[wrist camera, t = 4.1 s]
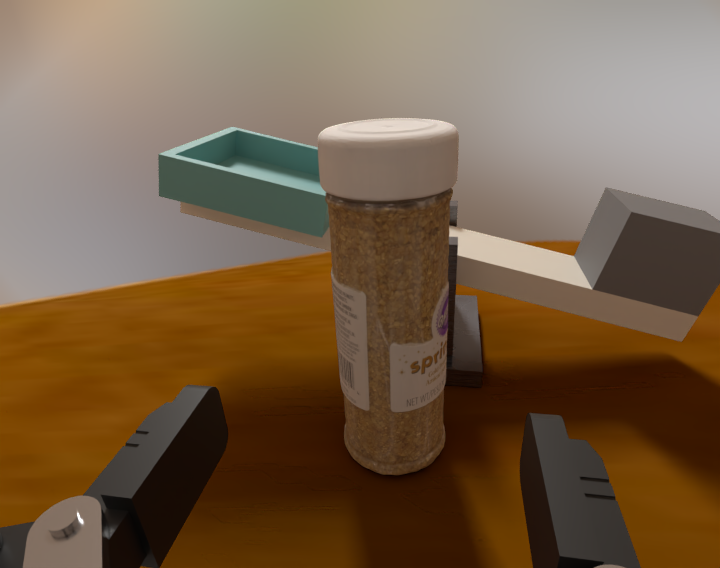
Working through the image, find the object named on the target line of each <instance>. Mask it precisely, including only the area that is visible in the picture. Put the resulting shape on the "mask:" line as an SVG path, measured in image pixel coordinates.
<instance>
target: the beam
mask: <svg viewBox="0 0 720 568" xmlns="http://www.w3.org/2000/svg"><path fill="white" fill-rule="evenodd" d="M325 193H326V192H325V191H324V190H323V189H322V187H321V185H320V176H319V162H318V147H314V146H309V145H305V144H301V143H297V142H293V141H289V140H285V139H281V138H277V137H272V136H268V135H264V134H260V133H256V132H252V131H248V130H243V129H239V128H236V127H230V128H228V129H225V130H222V131H219V132H217V133H214V134H211V135H209V136H206V137H203V138H201V139H198V140H195V141H193V142H190V143H187V144H184V145H182V146H179V147H176V148H173V149H171V150H168V151H165V152H163V153H160V154H159V196H161V197H165V198H169V199H173V200H177V201H181V212H182V213H185V214H189V215H193V216H197V217H201V218H205V219H209V220H213V221H216V222H221V223H224V224H228V225H232V226H236V227H240V228H244V229H247V230H251V231H255V232H259V233H263V234H267V235H271V236H274V237H278V238H282V239H286V240H290V241H294V242H298V243H302V244H306V245H309V246H313V247H317V248H321V249H325V250H329V251H331V240H330V227H329V214H328V204H327V203H326V201H325V197H326V194H325ZM449 231H450V233H449V237H458V253H457V274H456V284H460V285H464V286H468V287H472V288H476V289H480V290H483V291H487V292H491V293H495V294H499V295H503V296H507V297H510V298H514V299H518V300H522V301H526V302H530V303H534V304H538V305H541V306H545V307H549V308H553V309H557V310H561V311H565V312H568V313H572V314H576V315H580V316H584V317H588V318H592V319H596V320H599V321H603V322H607V323H611V324H615V325H619V326H623V327H627V328H630V329H634V330H638V331H642V332H646V333H650V334H654V335H657V336H661V337H665V338H669V339H673V340H677V341H681V342H682V340H683V339H684V337H685V336H686V334H687V333H688V331H689V330H690V328H691V327H692V325H693V324H694V322H695V320H696V319H697V317H698V316H699V314H700V313H701V311H702V310H703V308H704V307H705V305H706V304H707V302H708V300H709V299H710V297H711V296H712V294H713V293H714V291H715V290H716V288H717V287H718V285H719V284H720V221H719V220H717V219H716V218H714V217H713V216H711V215H710V214H708V213H707V212H705V211H702V210H698V209H694V208H689V207H685V206H682V205H677V204H673V203H669V202H665V201H660V200H656V199H652V198H648V197H643V196H640V195H636V194H631V193H627V192H623V191H619V190H615V189H610V188H605V190H604V193H603V195H602V197H601V199H600V201H599V203H598V206H597V208H596V210H595V212H594V214H593V216H592V219H591V221H590V223H589V225H588V227H587V229H586V232H585V234H584V236H583V238H582V240H581V242H580V244H579V247H578V249H577V251H576V253H575V255H574V256H570V255H566V254H562V253H558V252H554V251H550V250H546V249H542V248H538V247H534V246H530V245H526V244H522V243H518V242H514V241H510V240H506V239H502V238H498V237H494V236H490V235H486V234H482V233H478V232H474V231H470V230H466V229H462V228H458V227H454V226H450V225H449Z"/></svg>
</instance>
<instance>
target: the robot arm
mask: <svg viewBox="0 0 720 568" xmlns="http://www.w3.org/2000/svg"><path fill="white" fill-rule="evenodd" d="M227 440H228V429H227V424H226V420H225V416H224V412H223V407H222V403H221V399H220V394H219V391H218V389H217V388H216V387H210V386H197V385H187V386H185V387H184V388H183V389H182V391H181V392H180V393H179V394H178V396H177V397H176V398H175V400H174V401H173V402H172V403H167V402H166V403H165V404H164V405H162V406H161V407H159V408H158V409H157V410H155V411H154V412H152V413H151V414H150V415H148V416H147V418H146V419H145V420H144V421H143V423H142V424H141V425H140V426H139V427H138V429H137V430H136V433H135V434H133V435H132V436H131V437H130V438H129V440H128V441H127V442H126V446H123V447H122V448H121V449H120V451H119V452H118V453H117V454H116V456H115V457H114V458H113V459H112V460H111V462H110V463H109V464H108V465H107V467H106V468H105V469H104V470H103V471H102V473H101V474H100V475H99V476H98V478H97V479H96V480H95V481H94V482H93V484H92V485H91V486H90V487H89V489H88V490H87V491H86V492H85V493H84V494H83V496H76V497H72V498H69V499H66V500H63V501H61V502H59V503H57V504H55V505H54V506H52V507H51V508H49V509H48V510H47V511H45V512H44V513H43V514H42V515H41V516H40V517H39V518H38V519H37V520H36V521H35V522H30V523H25V524H19V525H13V526H7V527H2V528H0V568H140V566H145V567H152V568H159V567H160V566H161V564H162V562H163V560H164V559H165V557H166V555H167V553H168V551H169V550H170V548H171V546H172V544H173V542H174V541H175V539H176V537H177V535H178V534H179V532H180V530H181V528H182V526H183V525H184V523H185V521H186V519H187V517H188V516H189V514H190V512H191V510H192V509H193V507H194V505H195V503H196V501H197V500H198V498H199V496H200V494H201V492H202V491H203V489H204V487H205V485H206V484H207V482H208V480H209V478H210V476H211V475H212V473H213V471H214V469H215V467H216V466H217V464H218V462H219V460H220V459H221V457H222V455H223V453H224V451H225V448H226V445H227ZM520 482H521V490H522V497H523V503H524V510H525V517H526V523H527V530H528V536H529V543H530V549H531V556H532V563H533V568H641V567H640V564H639V562H638V559H637V556H636V553H635V550H634V548H633V545H632V542H631V539H630V536H629V533H628V531H627V528H626V525H625V522H624V519H623V517H622V514H621V511H620V508H619V505H618V503H617V501H616V500H615V494H614V491H613V489H612V486H611V483H609V477H608V475H607V472H606V469H605V466H604V463H603V460H602V458H601V457H600V456H599V455H598V454H597V453H596V451H595V450H594V449H593V448H592V447H591V446H590V444H589V443H588V442H587V441H586V440H576V439H569V438H568V435H567V431H566V428H565V424H564V421H563V418H562V417H561V416H560V415H549V414H537V413H528V414H527V417H526V423H525V430H524V437H523V444H522V451H521V458H520Z"/></svg>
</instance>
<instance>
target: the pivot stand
mask: <svg viewBox="0 0 720 568" xmlns="http://www.w3.org/2000/svg"><path fill="white" fill-rule="evenodd" d="M449 225H450V226H454V227H456V226H457V201H450V221H449ZM457 253H458V237H449V256H448V264H449V266H448V282H449V294H448V333H447V361H446V382H445V385H453V386H466V387H479V388H481V387H482V375H483V368H482V356H481V344H480V332H479V320H478V308H477V296H464V295H455V294H456V274H457Z"/></svg>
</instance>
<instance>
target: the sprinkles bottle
mask: <svg viewBox="0 0 720 568" xmlns="http://www.w3.org/2000/svg"><path fill="white" fill-rule="evenodd" d="M458 142H459V136H458V131H457V129H456V127H455V126H453V125H452V124H450V123H447V122H443V121H438V120H429V119H415V118H387V119H372V120H363V121H355V122H348V123H343V124H339V125H334V126H331V127H328V128H326V129H324V130H323V131H322V132H321V133H320V134H319V136H318V162H319V176H320V185H321V187H322V189H323V190H324V191H325V192H326V193H325V194H326V197H325V201H326V203H327V204H328V214H329V227H330V240H331V252H332V271H331V277H332V288H333V298H334V310H335V323H336V336H337V347H338V360H339V372H340V382H341V388H342V391H343V393H344V405H345V417H346V424H345V429H344V441H345V445H346V448H347V449H348V451H349V453H350V455H351V456H352V457H353V459H354V460H356V461H357V462H358V463H359V464H360V465H362V466H363V467H365V468H368V469H370V470H372V471H374V472H377V473H380V474H383V475H402V474H406V473H410V472H416V471H419V470H420V469H422V468H425V467H427V466H428V465H429V464H431V463H432V462H433V461H434V460H435V458H436V457H437V456H438V455H439V454H440V452H441V450H442V449H443V447H444V443H445V427H444V424H443V404H444V386H445V382H446V361H447V333H448V294H449V282H448V266H449V264H448V256H449V233H450V231H449V221H450V200H451V197H452V194H453V190H452V189H451V188H452V187H453V186H454V185H455V183H456V181H457V171H458Z"/></svg>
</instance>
